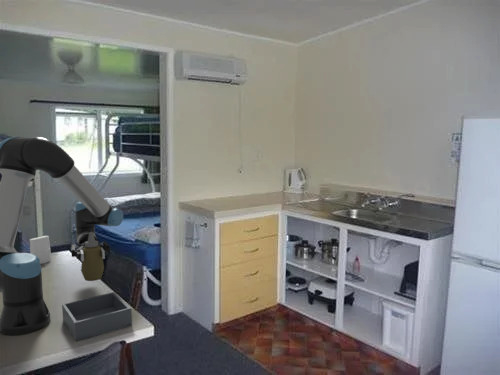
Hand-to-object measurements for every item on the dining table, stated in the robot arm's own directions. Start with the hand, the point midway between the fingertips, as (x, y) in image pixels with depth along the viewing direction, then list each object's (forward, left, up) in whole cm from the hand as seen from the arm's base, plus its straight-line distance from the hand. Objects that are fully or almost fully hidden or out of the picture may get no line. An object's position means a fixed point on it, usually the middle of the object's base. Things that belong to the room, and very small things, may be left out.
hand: (93, 256), depth 150 cm
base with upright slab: (+29, +68, -19) cm, 76 cm away
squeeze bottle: (+3, +4, -10) cm, 11 cm away
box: (-10, -11, -19) cm, 24 cm away
